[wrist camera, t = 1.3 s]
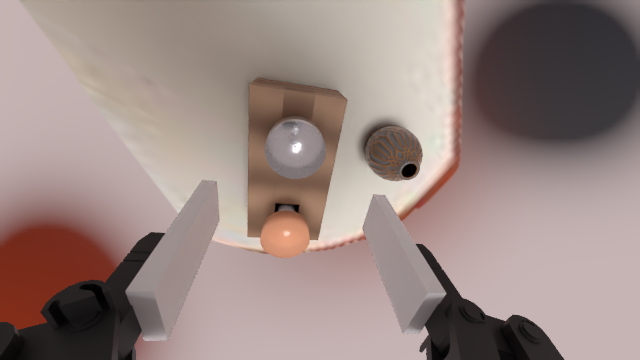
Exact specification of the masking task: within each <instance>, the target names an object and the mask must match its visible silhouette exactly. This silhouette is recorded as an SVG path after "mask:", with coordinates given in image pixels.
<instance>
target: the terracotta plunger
mask: <svg viewBox="0 0 640 360" xmlns="http://www.w3.org/2000/svg"><path fill="white" fill-rule="evenodd" d="M309 241H310V237H309V226H308V222H307V220H306V219H305V218H304V217H303V216H302V215H301V214H299V213H297V212H295V204H282V203H279V204H278V212H275V213H273V214H271V215H270V216H268V217H267V218H266V220H265V221H264V223H263V227H262V233H261V239H260V242H261V245H262V247H263V249H264V250H265V251H266V252H267V253H269V254H271V255H273V256H276V257H280V258H288V257H293V256H296V255H298V254H300V253H302V252H303V251H304V250H305V249H306V248H307V247H308V245H309Z"/></svg>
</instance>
